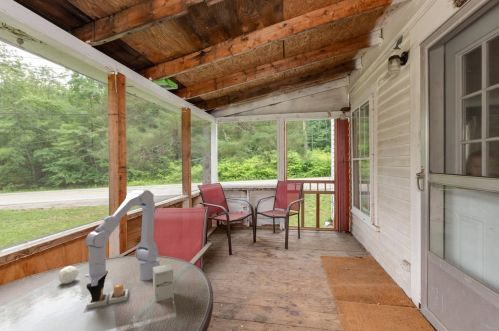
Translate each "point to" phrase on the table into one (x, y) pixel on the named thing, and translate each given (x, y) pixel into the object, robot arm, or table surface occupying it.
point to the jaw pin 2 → (118, 290)
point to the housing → (108, 301)
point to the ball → (68, 274)
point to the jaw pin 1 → (101, 296)
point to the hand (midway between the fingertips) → (98, 295)
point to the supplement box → (163, 282)
